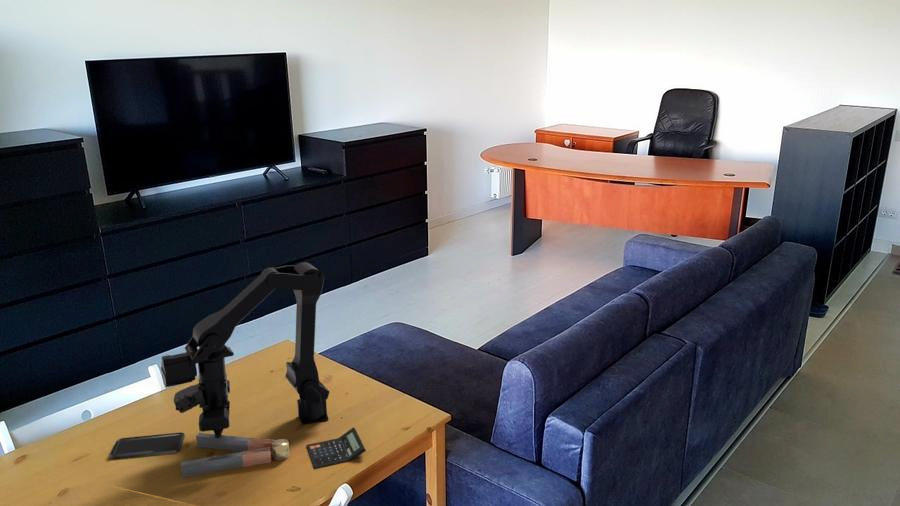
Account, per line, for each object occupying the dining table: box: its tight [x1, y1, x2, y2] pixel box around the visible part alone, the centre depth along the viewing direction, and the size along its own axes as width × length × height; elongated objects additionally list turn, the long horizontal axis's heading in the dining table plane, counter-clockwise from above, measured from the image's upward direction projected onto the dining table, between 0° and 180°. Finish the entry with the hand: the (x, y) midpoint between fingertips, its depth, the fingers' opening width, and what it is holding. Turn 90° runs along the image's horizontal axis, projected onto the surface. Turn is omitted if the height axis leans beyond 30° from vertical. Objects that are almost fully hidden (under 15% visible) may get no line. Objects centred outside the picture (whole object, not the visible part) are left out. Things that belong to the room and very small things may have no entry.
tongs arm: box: [195, 432, 291, 461], centre depth 152 cm, size 22×4×3 cm, turn 81°
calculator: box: [306, 426, 367, 469], centre depth 152 cm, size 9×12×3 cm
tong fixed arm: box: [180, 447, 272, 478], centre depth 146 cm, size 18×2×3 cm, turn 108°
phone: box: [109, 432, 185, 460], centre depth 154 cm, size 8×1×15 cm
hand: (218, 436), depth 155 cm, fingers closed
